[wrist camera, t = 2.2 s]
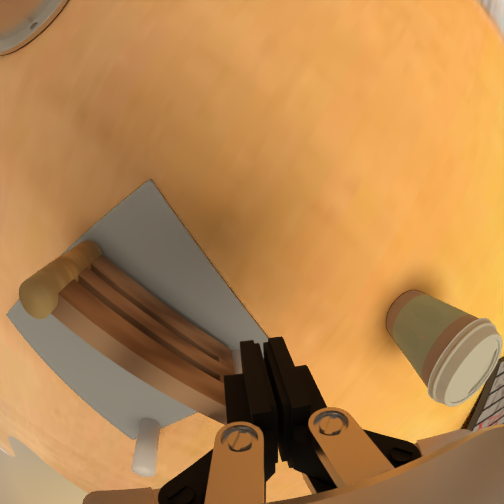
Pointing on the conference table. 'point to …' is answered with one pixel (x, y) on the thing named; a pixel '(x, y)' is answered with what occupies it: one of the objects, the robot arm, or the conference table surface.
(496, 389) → the shutter
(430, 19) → the conference table surface
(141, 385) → the grey board
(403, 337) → the coffee cup
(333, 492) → the robot arm
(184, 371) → the gate
